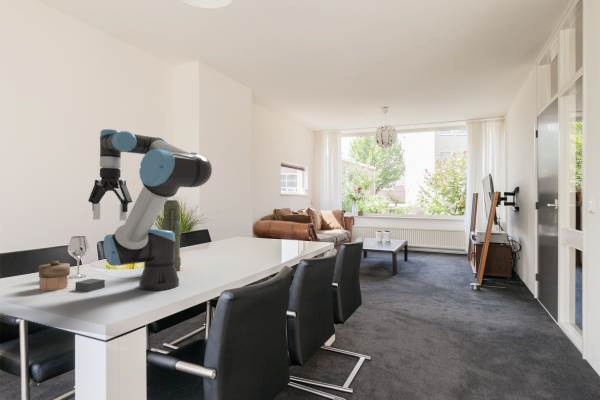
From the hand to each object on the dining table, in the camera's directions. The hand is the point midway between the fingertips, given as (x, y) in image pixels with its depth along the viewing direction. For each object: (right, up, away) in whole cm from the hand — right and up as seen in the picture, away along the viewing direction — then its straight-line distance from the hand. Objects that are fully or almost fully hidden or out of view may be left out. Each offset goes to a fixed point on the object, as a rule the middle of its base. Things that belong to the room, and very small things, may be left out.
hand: (109, 220), depth 146 cm
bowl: (-19, -27, -6) cm, 33 cm away
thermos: (+14, -27, +31) cm, 44 cm away
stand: (-4, -27, -6) cm, 28 cm away
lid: (-19, -22, -6) cm, 29 cm away
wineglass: (-23, -27, +15) cm, 38 cm away
